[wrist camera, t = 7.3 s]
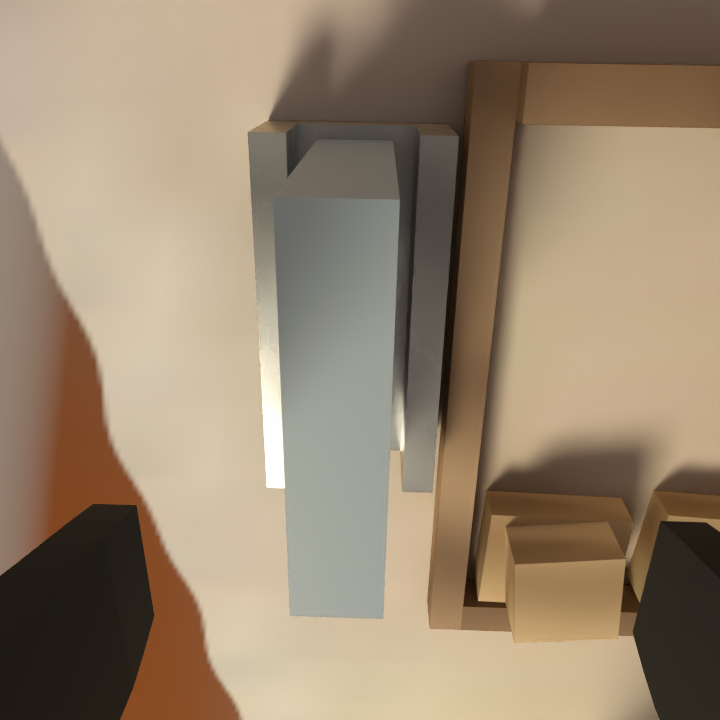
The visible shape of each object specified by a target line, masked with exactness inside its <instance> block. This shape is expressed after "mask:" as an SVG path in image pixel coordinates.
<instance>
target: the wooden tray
mask: <svg viewBox="0 0 720 720" xmlns="http://www.w3.org/2000/svg"><path fill="white" fill-rule="evenodd" d="M516 121H517V122H519V123H521V124H526V125H579V126H632V127H685V128H720V65H671V64H611V63H551V62H492V61H469V70H468V83H467V96H466V109H465V122H464V135H463V148H462V161H461V174H460V187H459V199H458V212H457V225H456V238H455V251H454V264H453V277H452V290H451V303H450V316H449V329H448V342H447V355H446V367H445V380H444V393H443V406H442V419H441V432H440V445H439V458H438V471H437V484H436V497H435V510H434V522H433V535H432V548H431V561H430V574H429V587H428V600H427V602H428V614H429V626H430V629H452V630H480V631H508V632H512V630H511V626H510V621H509V617H508V612H507V608H506V603H505V602H488V601H478V597H477V591H476V585H475V580H466V574H467V565H468V556H469V547H470V538H471V528H472V519H473V510H474V501H475V491H476V482H477V473H478V464H479V454H480V445H481V436H482V427H483V417H484V408H485V399H486V390H487V380H488V371H489V362H490V353H491V344H492V334H493V325H494V316H495V307H496V297H497V288H498V279H499V270H500V260H501V251H502V242H503V233H504V223H505V214H506V205H507V196H508V186H509V177H510V168H511V159H512V150H513V140H514V131H515V122H516ZM639 604H640V602H639V600H638V598H637V596H636V594H635V592H634V589H633V587H632V585H623V593H622V603H621V613H620V623H619V633H618V636H634V635H633V628H634V624H635V620H636V616H637V612H638V608H639Z"/></svg>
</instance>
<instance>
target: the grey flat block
mask: <svg viewBox="0 0 720 720" xmlns="http://www.w3.org/2000/svg"><path fill="white" fill-rule="evenodd" d="M399 209H400V196H399V188H398V179H397V170H396V162H395V153H394V144H393V141H390V140H338V139H317V140H316V142H315V143H314V144H313V146H312V147H311V148H310V149H309V151H308V152H307V153H306V155H305V156H304V157H303V159H302V160H301V161H300V162H299V164H298V165H297V166H296V168H295V169H294V170H293V172H292V173H291V174H290V175H289V177H288V178H287V179H286V181H285V182H284V183H283V184H282V186H281V187H280V188H279V190H278V191H277V192H276V194H275V195H274V196H273V212H274V237H275V261H276V286H277V310H278V335H279V359H280V384H281V409H282V433H283V458H284V482H285V507H286V531H287V556H288V581H289V605H290V616H310V617H338V618H366V619H383V610H384V585H385V560H386V535H387V510H388V485H389V460H390V435H391V410H392V385H393V360H394V334H395V309H396V284H397V259H398V234H399Z"/></svg>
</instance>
